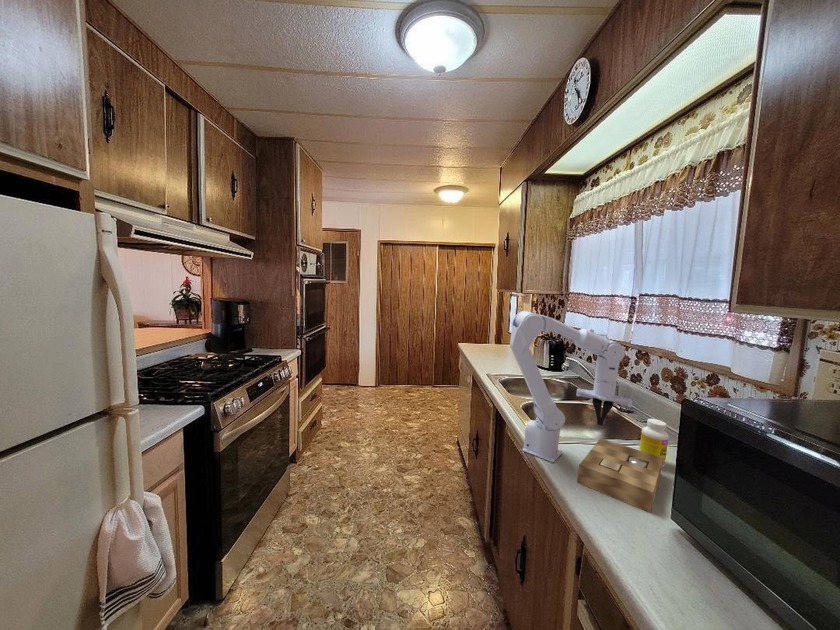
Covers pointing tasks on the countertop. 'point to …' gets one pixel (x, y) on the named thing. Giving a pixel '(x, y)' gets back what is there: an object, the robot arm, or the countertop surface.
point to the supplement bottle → (654, 439)
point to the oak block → (621, 474)
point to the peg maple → (610, 465)
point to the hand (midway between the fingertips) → (600, 424)
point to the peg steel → (637, 461)
